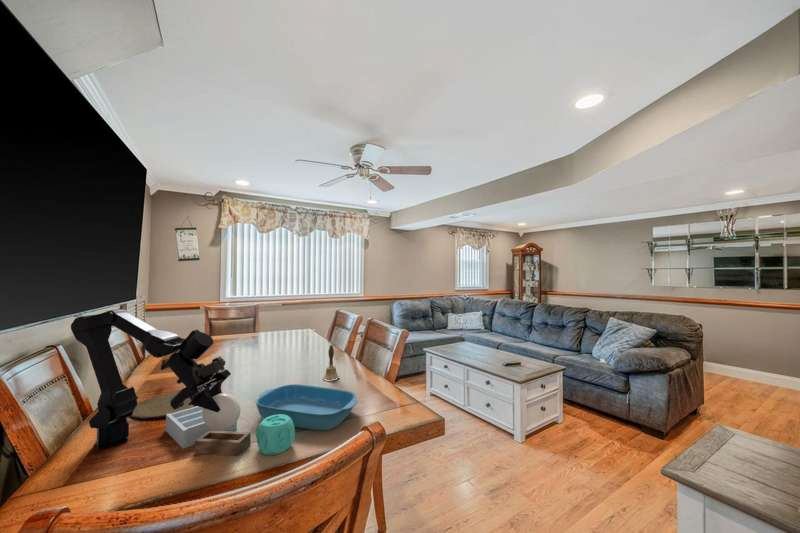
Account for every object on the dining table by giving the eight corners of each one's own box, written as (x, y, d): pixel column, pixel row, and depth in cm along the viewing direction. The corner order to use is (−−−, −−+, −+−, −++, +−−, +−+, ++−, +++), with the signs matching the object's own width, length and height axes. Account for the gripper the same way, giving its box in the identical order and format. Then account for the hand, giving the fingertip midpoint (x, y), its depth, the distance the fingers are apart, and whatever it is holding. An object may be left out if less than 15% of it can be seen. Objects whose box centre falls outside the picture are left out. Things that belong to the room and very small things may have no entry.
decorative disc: (178, 383, 140) (237, 385, 134) (178, 391, 140) (237, 393, 134) (106, 411, 112) (177, 415, 106) (106, 420, 112) (177, 425, 106)
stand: (194, 453, 89) (195, 440, 89) (209, 442, 95) (209, 430, 95) (238, 455, 88) (239, 442, 89) (250, 444, 94) (250, 432, 94)
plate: (237, 428, 90) (232, 393, 91) (204, 433, 91) (200, 398, 92) (242, 424, 93) (237, 390, 93) (210, 429, 94) (205, 395, 94)
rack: (183, 448, 92) (183, 430, 92) (165, 430, 102) (166, 414, 102) (236, 429, 103) (236, 413, 103) (216, 414, 114) (216, 400, 114)
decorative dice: (281, 437, 98) (281, 411, 99) (295, 447, 93) (295, 419, 93) (255, 448, 92) (256, 420, 92) (268, 458, 87) (269, 429, 87)
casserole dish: (366, 409, 119) (367, 390, 119) (340, 439, 98) (340, 416, 98) (282, 398, 129) (282, 381, 129) (241, 423, 107) (241, 402, 108)
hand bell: (319, 380, 151) (319, 346, 151) (327, 375, 159) (328, 343, 159) (334, 382, 148) (335, 348, 149) (342, 376, 156) (343, 344, 157)
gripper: (181, 359, 84) (220, 403, 83) (225, 343, 102) (257, 379, 101) (153, 388, 84) (191, 432, 83) (202, 367, 103) (233, 403, 102)
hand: (221, 409), depth 92 cm, fingers closed on plate, 2 cm apart
